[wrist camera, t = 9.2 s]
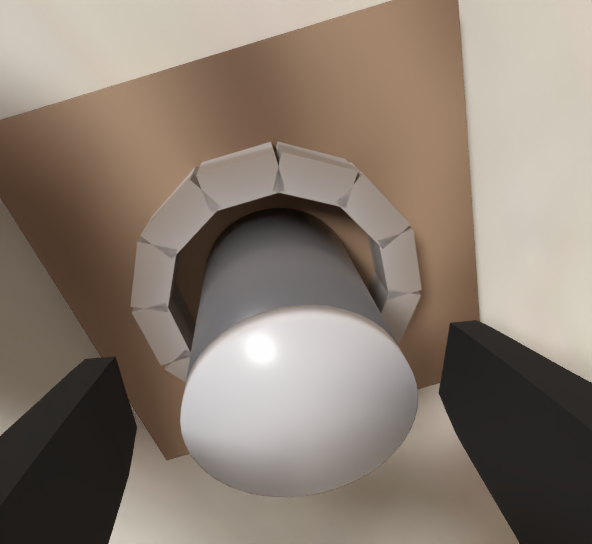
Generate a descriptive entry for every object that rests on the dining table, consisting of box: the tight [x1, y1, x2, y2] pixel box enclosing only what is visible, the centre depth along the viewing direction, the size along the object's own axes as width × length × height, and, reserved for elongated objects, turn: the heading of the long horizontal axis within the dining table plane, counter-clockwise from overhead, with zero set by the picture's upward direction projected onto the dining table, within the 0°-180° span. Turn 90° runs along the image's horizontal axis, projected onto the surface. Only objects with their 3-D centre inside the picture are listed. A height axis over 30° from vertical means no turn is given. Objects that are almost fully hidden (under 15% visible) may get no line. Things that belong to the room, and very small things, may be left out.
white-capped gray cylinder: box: [180, 208, 418, 497], centre depth 11 cm, size 5×5×6 cm
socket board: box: [0, 0, 480, 460], centre depth 13 cm, size 13×13×2 cm
